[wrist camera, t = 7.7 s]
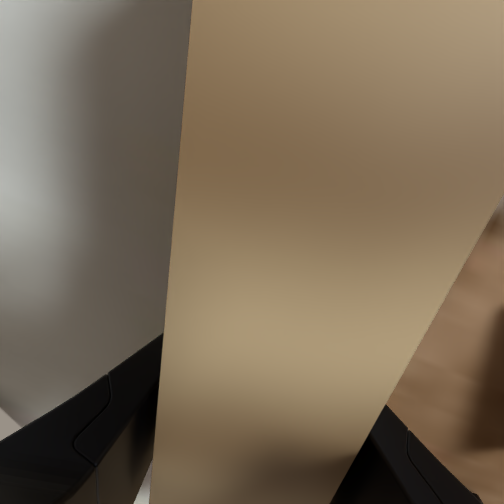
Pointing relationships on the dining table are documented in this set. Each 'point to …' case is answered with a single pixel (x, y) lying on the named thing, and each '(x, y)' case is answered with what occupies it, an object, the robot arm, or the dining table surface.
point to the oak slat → (316, 229)
